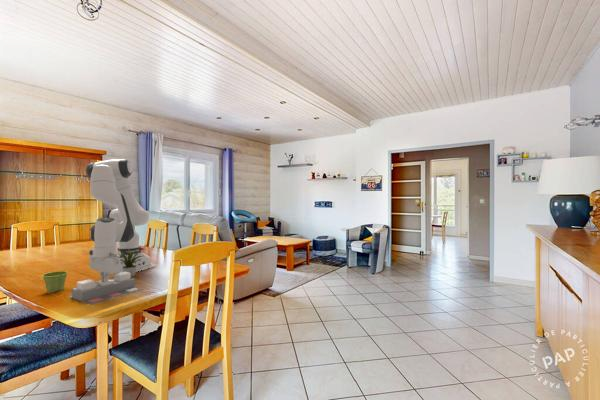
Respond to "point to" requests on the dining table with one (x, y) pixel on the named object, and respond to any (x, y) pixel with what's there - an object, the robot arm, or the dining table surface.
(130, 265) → the house plant
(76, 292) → the switch panel
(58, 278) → the plant pot
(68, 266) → the dining table surface
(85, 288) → the key
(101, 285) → the key middle
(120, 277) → the key
